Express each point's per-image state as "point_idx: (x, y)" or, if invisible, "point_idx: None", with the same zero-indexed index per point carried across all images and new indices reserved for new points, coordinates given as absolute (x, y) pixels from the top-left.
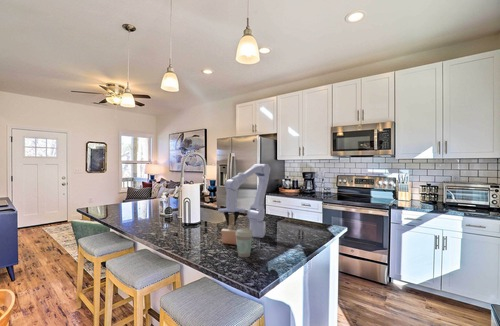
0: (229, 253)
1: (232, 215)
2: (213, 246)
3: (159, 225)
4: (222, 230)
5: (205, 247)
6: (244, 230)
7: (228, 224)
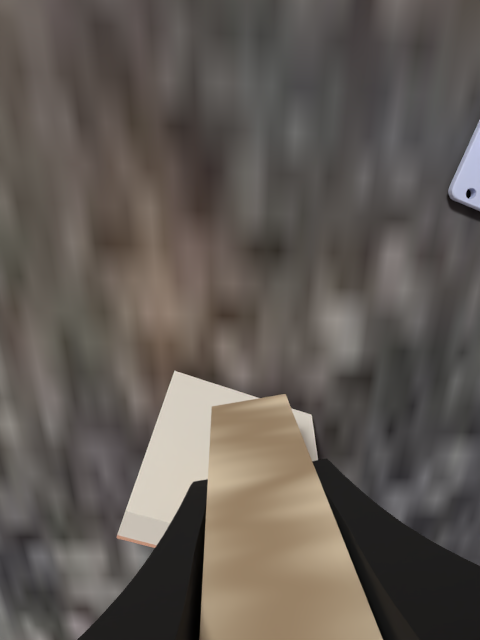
0: None
1: None
2: (87, 479)
3: None
4: (133, 539)
5: (19, 501)
6: None
7: None
